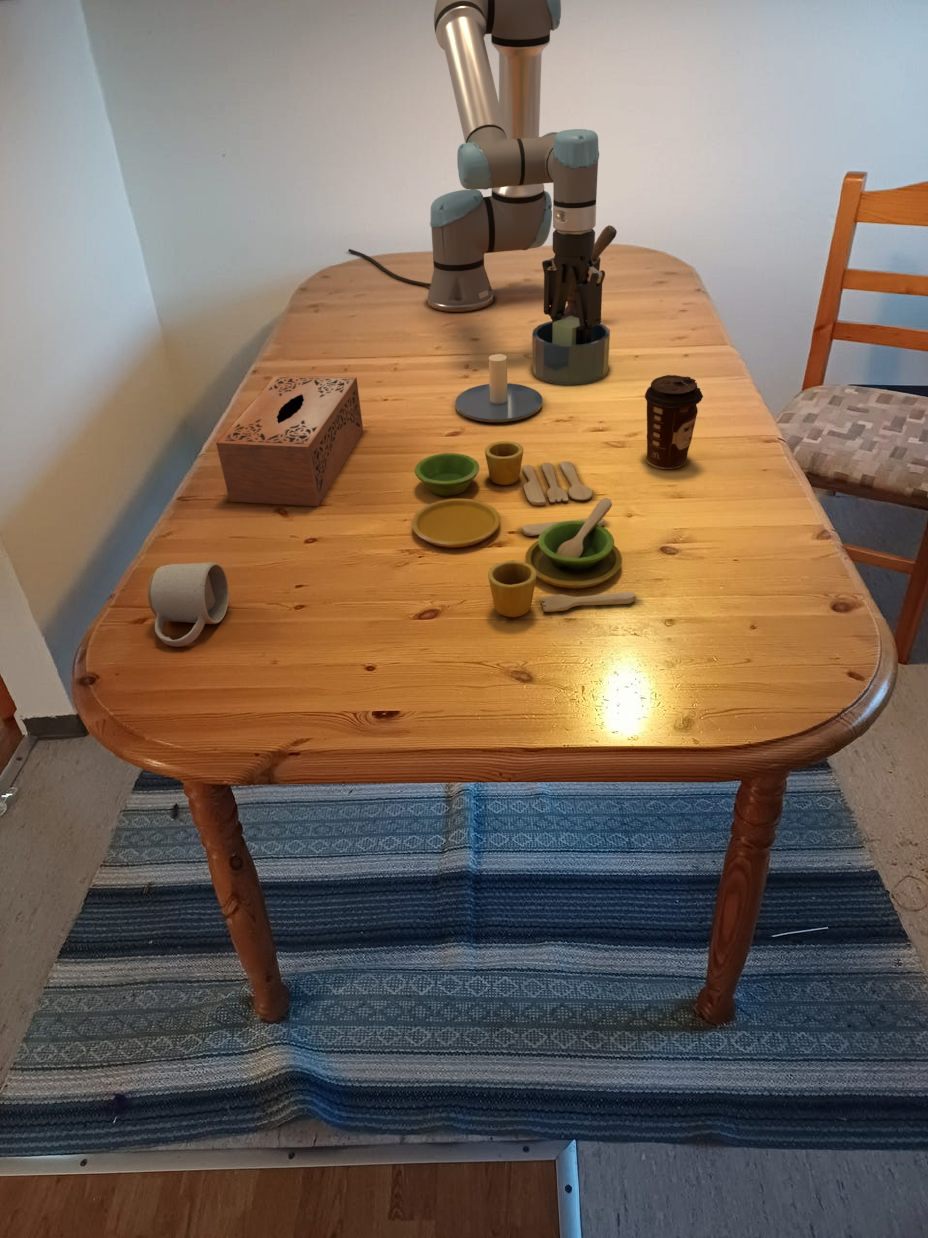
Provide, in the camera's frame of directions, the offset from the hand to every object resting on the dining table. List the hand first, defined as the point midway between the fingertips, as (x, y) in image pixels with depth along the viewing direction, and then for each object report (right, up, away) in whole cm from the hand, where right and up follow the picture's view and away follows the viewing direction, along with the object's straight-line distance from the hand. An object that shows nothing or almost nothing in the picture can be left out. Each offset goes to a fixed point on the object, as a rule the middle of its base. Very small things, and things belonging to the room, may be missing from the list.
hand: (570, 356), depth 173 cm
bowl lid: (-14, -12, -10) cm, 21 cm away
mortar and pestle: (+6, +15, +24) cm, 29 cm away
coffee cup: (+12, -26, -29) cm, 41 cm away
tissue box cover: (-48, -25, -25) cm, 59 cm away
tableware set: (-14, -39, -45) cm, 61 cm away
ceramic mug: (-55, -51, -58) cm, 95 cm away
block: (0, 0, 0) cm, 0 cm away
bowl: (0, -2, +2) cm, 3 cm away
